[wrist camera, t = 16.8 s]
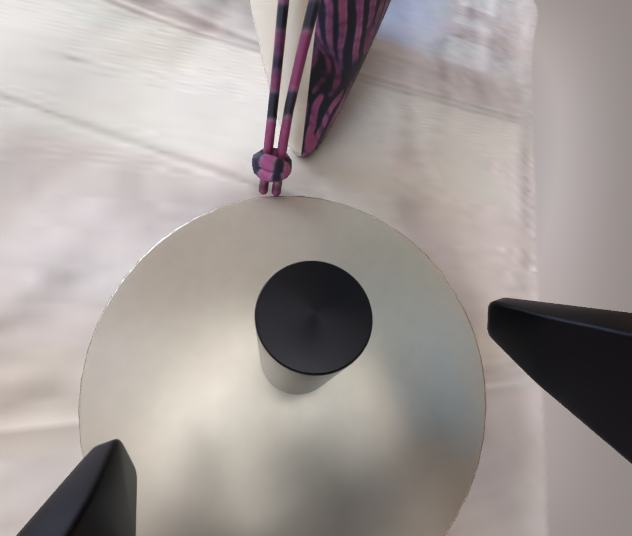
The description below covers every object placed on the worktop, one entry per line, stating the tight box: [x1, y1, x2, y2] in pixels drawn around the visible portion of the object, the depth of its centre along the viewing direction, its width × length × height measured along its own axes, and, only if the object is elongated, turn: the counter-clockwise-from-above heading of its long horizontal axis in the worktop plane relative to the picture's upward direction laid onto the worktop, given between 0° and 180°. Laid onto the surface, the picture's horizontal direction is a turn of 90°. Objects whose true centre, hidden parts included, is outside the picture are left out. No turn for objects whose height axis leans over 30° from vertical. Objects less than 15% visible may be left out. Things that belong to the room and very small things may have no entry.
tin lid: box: [78, 196, 486, 536], centre depth 10 cm, size 15×15×6 cm
